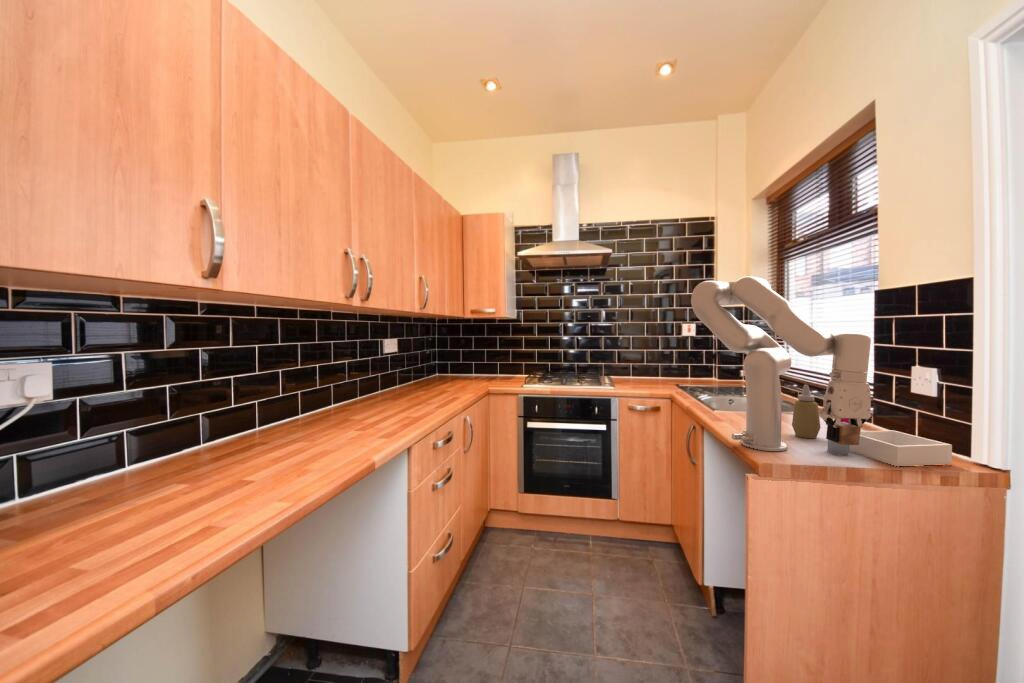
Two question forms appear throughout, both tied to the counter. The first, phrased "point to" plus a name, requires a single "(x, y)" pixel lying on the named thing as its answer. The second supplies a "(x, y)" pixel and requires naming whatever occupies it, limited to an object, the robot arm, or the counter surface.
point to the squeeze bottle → (806, 415)
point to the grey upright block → (838, 448)
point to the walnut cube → (848, 434)
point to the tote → (902, 448)
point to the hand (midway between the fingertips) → (842, 439)
